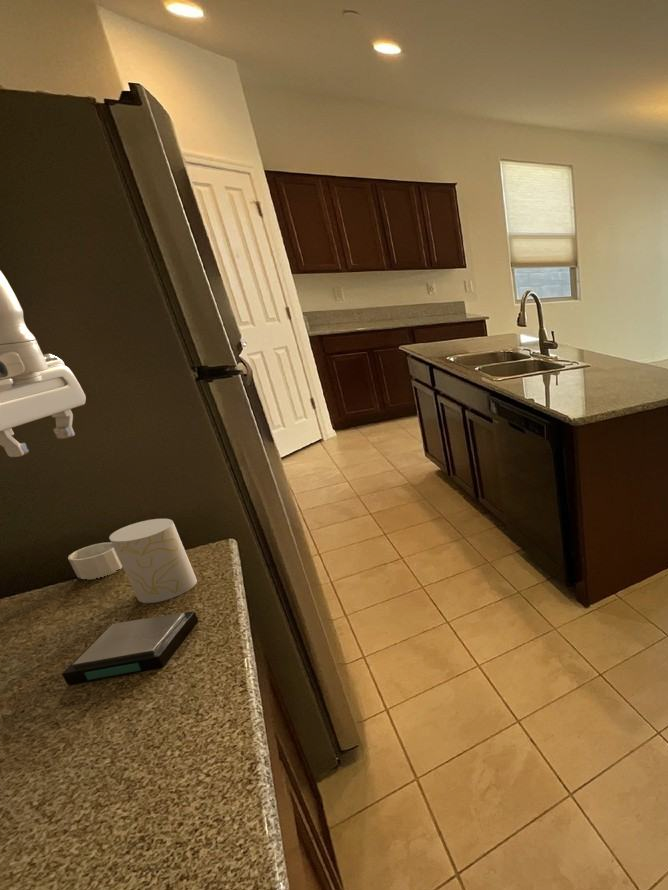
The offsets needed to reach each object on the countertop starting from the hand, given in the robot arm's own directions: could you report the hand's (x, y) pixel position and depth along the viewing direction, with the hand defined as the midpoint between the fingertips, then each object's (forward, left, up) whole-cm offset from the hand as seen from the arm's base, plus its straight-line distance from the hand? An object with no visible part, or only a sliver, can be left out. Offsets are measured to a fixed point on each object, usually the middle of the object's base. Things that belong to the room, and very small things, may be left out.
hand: (44, 445), depth 86 cm
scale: (+17, -26, -26) cm, 40 cm away
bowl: (-2, +3, -26) cm, 26 cm away
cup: (+13, -8, -26) cm, 30 cm away
